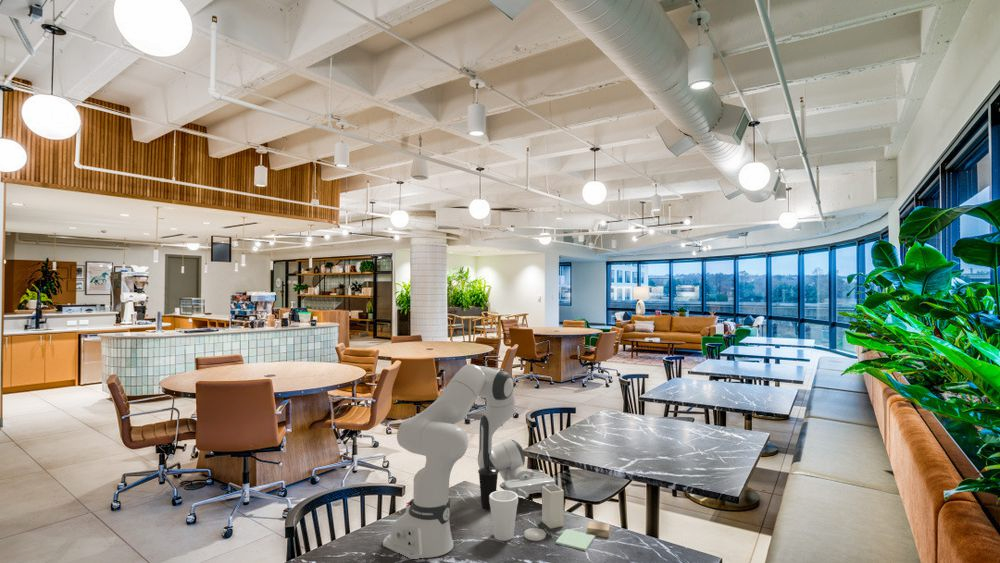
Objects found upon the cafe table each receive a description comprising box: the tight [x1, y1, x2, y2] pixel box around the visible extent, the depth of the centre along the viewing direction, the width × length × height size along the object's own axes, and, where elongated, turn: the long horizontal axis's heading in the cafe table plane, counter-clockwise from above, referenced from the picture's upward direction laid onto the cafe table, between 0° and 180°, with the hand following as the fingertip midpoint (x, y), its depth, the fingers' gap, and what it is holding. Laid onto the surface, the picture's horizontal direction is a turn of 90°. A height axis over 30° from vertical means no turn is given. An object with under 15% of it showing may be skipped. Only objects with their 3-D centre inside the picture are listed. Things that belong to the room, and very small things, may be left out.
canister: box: [541, 484, 565, 529], centre depth 173 cm, size 6×5×12 cm
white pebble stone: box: [523, 527, 546, 542], centre depth 164 cm, size 7×7×1 cm
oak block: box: [586, 520, 611, 538], centre depth 166 cm, size 7×5×2 cm
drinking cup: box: [477, 453, 499, 511], centre depth 186 cm, size 8×8×20 cm
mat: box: [555, 528, 596, 552], centre depth 161 cm, size 10×10×1 cm
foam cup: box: [489, 489, 519, 541], centre depth 164 cm, size 10×9×13 cm
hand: (538, 493), depth 183 cm, fingers open, 8 cm apart
